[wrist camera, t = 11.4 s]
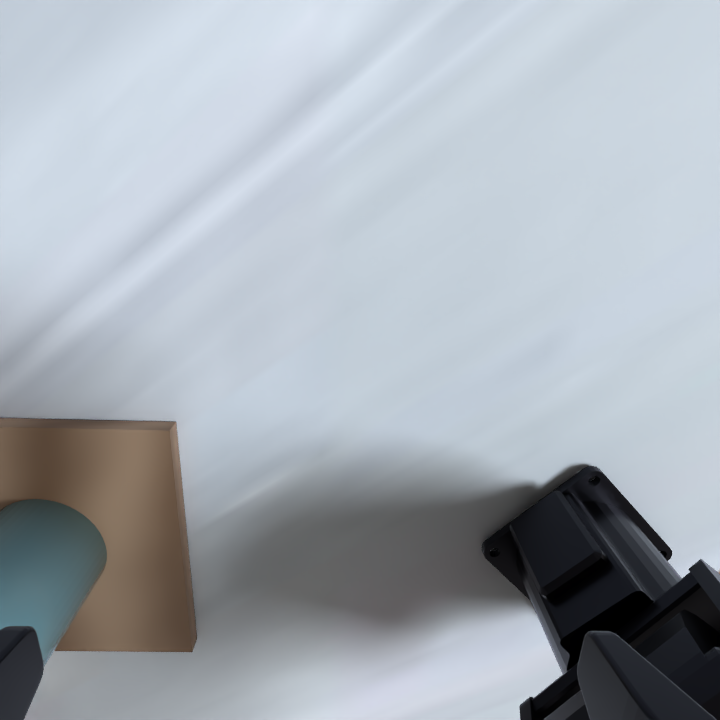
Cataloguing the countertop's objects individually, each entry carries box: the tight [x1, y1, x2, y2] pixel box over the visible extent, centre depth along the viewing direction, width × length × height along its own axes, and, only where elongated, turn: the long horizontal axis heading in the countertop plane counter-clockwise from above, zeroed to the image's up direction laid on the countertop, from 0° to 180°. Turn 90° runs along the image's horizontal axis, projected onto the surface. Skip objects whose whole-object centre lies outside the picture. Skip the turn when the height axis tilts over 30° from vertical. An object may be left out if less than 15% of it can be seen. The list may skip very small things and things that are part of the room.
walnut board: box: [0, 418, 197, 652], centre depth 23 cm, size 12×12×1 cm
